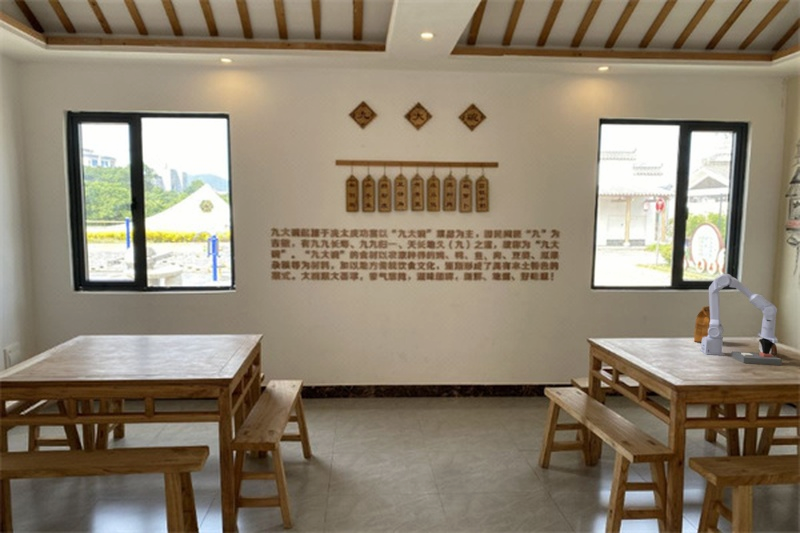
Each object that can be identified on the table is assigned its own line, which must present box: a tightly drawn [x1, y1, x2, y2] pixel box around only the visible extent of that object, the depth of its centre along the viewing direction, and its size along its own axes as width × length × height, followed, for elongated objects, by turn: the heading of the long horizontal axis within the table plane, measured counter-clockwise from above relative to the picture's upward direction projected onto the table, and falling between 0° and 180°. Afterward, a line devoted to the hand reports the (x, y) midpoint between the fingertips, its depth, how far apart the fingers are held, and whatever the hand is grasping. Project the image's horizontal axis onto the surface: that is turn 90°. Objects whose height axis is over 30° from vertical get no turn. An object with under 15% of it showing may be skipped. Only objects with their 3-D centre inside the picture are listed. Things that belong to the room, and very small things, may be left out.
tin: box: [758, 340, 778, 357], centre depth 278 cm, size 15×3×8 cm, turn 168°
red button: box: [758, 351, 772, 357], centre depth 265 cm, size 4×4×4 cm
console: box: [731, 351, 783, 366], centre depth 266 cm, size 18×12×3 cm, turn 83°
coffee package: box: [693, 306, 710, 343], centre depth 304 cm, size 10×12×22 cm
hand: (765, 353), depth 265 cm, fingers closed, pressing on red button
